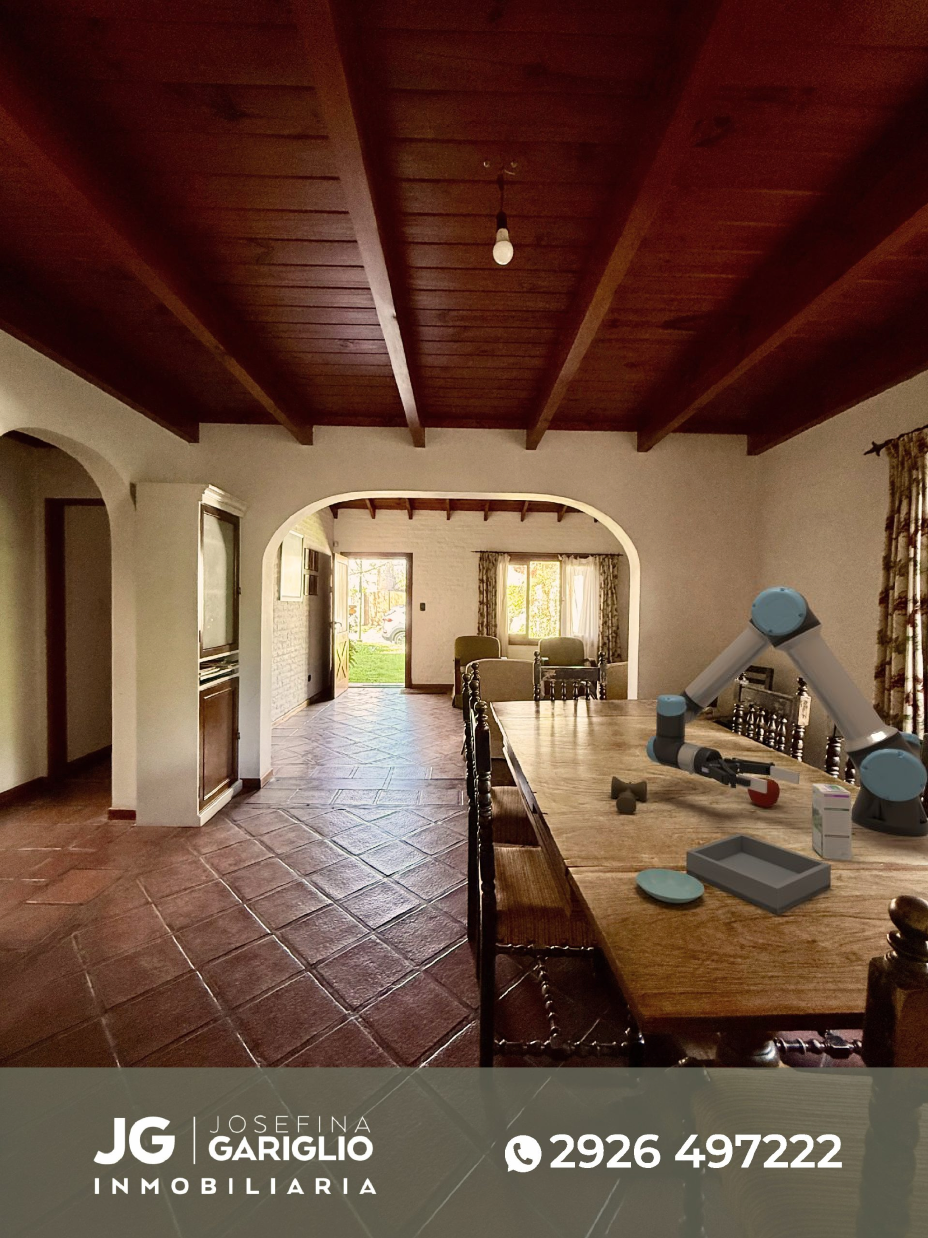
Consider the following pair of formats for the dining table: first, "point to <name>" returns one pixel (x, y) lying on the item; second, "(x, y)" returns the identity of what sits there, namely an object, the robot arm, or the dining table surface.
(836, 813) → the syrup box
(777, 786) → the apple
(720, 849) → the tray
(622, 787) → the kendama
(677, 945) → the dining table surface
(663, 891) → the saucer
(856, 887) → the dining table surface
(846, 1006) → the dining table surface
